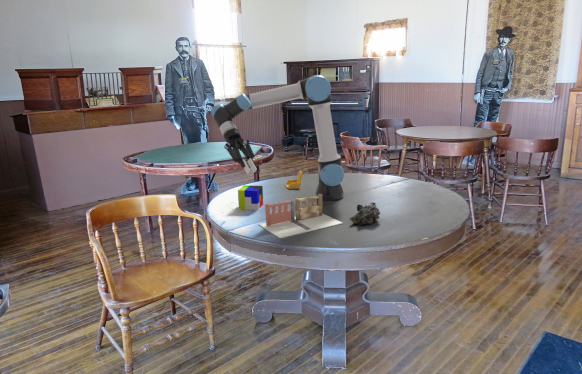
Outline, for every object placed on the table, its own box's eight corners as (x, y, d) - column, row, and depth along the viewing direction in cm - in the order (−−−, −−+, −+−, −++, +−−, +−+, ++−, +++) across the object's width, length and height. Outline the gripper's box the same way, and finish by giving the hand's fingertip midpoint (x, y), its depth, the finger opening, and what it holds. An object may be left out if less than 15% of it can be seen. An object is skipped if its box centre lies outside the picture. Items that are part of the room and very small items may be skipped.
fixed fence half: (320, 213, 210) (320, 193, 208) (323, 215, 209) (323, 194, 206) (294, 219, 203) (294, 198, 201) (297, 220, 202) (296, 199, 199)
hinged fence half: (293, 218, 203) (292, 198, 200) (295, 220, 201) (295, 199, 199) (265, 224, 196) (264, 204, 194) (267, 226, 194) (266, 205, 192)
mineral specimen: (349, 205, 207) (360, 190, 201) (372, 217, 208) (384, 203, 202) (346, 225, 195) (357, 210, 189) (371, 238, 196) (383, 223, 190)
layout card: (318, 212, 214) (318, 211, 214) (342, 223, 197) (342, 222, 197) (258, 224, 199) (258, 223, 199) (279, 238, 182) (279, 237, 182)
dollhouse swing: (285, 185, 268) (284, 170, 265) (300, 184, 268) (300, 169, 266) (286, 189, 257) (286, 174, 255) (303, 188, 258) (302, 173, 256)
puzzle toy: (258, 210, 220) (257, 190, 218) (238, 209, 222) (237, 190, 220) (263, 204, 230) (262, 185, 227) (244, 203, 232) (243, 185, 229)
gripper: (241, 135, 220) (262, 173, 212) (213, 139, 210) (234, 179, 202) (246, 125, 215) (269, 164, 206) (218, 129, 205) (240, 169, 197)
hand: (251, 171), depth 204 cm, fingers open, 3 cm apart
